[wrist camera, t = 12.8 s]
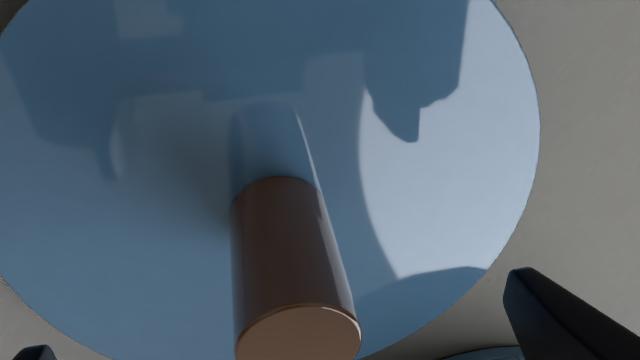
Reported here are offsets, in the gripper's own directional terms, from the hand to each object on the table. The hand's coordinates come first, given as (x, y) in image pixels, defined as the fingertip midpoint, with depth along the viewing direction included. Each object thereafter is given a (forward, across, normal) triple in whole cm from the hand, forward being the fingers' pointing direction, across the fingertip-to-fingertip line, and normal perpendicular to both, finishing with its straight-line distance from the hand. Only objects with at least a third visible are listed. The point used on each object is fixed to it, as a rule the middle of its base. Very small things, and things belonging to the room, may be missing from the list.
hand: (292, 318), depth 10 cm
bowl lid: (+4, 0, 0) cm, 4 cm away
